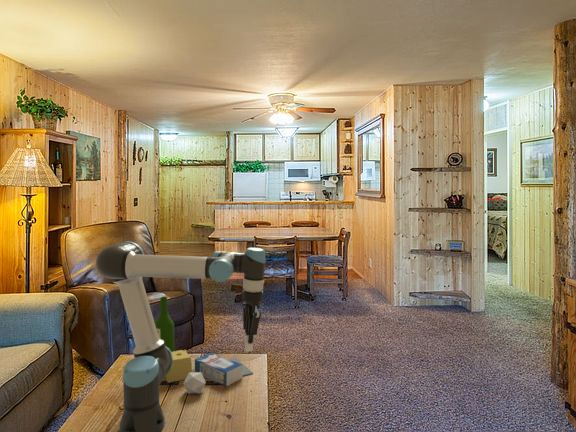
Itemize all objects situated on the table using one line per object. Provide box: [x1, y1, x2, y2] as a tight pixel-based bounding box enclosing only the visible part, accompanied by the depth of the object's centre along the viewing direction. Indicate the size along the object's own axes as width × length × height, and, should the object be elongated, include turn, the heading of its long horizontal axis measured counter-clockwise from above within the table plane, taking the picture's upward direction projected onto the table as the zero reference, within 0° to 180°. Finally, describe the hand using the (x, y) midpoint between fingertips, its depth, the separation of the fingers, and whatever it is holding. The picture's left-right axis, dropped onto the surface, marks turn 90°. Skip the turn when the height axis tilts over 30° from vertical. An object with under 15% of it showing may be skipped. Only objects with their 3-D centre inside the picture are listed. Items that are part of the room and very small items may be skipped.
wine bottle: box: [154, 296, 176, 352], centre depth 202 cm, size 9×9×32 cm
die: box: [183, 371, 206, 395], centre depth 177 cm, size 8×9×10 cm
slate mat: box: [212, 357, 254, 384], centre depth 198 cm, size 18×20×1 cm
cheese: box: [165, 349, 193, 384], centre depth 191 cm, size 10×11×10 cm
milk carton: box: [194, 352, 243, 387], centre depth 192 cm, size 10×6×20 cm
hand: (248, 350), depth 163 cm, fingers closed
